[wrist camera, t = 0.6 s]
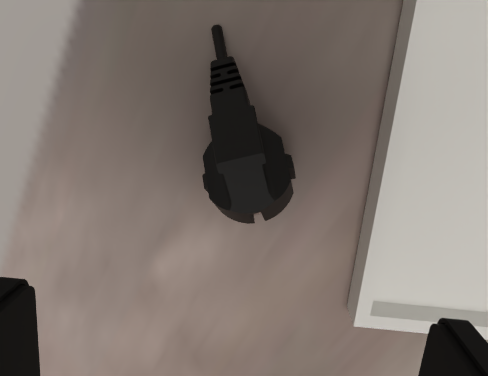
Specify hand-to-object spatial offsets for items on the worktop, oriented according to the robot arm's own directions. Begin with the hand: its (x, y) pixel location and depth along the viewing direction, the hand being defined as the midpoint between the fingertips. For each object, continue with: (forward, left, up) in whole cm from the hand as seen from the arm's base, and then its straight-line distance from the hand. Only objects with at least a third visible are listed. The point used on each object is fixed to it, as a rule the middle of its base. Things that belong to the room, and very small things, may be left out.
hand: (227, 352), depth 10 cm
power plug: (-3, -1, -21) cm, 21 cm away
